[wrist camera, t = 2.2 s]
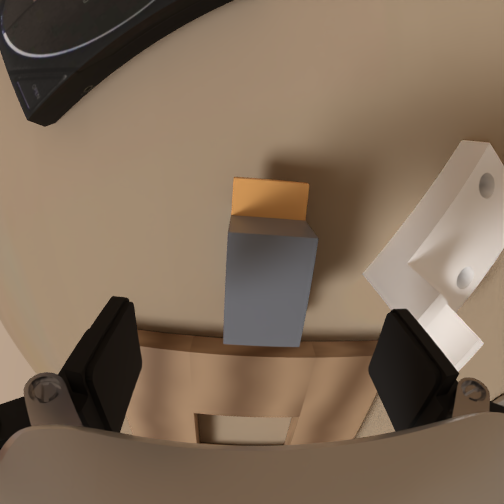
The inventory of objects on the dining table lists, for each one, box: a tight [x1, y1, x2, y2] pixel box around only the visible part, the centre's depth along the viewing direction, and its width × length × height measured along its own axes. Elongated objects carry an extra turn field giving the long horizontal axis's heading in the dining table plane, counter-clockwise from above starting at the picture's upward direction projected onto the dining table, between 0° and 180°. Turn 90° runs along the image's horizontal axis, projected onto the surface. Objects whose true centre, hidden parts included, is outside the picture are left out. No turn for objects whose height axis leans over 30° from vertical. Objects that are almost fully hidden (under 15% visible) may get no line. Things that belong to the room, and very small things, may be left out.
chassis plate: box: [126, 330, 378, 446], centre depth 25 cm, size 22×22×2 cm
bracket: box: [362, 140, 504, 371], centre depth 16 cm, size 13×7×8 cm, turn 143°
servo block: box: [223, 177, 318, 347], centre depth 17 cm, size 4×10×6 cm, turn 176°
